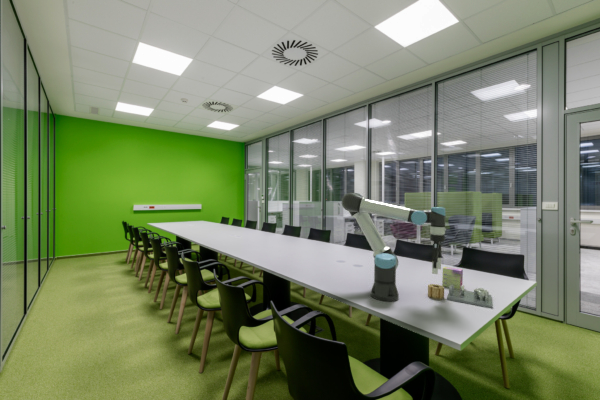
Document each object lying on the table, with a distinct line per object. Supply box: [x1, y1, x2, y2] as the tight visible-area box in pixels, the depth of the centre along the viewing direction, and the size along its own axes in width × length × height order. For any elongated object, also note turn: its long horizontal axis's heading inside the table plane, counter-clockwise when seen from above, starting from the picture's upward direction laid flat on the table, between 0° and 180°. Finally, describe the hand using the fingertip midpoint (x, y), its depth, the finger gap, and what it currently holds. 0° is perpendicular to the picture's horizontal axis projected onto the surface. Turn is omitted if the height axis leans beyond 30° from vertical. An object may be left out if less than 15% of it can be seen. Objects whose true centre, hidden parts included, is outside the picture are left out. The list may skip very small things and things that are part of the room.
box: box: [441, 266, 464, 290], centre depth 175 cm, size 10×6×12 cm, turn 47°
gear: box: [427, 283, 445, 300], centre depth 156 cm, size 8×8×6 cm
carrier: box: [446, 284, 493, 309], centre depth 155 cm, size 21×21×6 cm
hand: (436, 271), depth 156 cm, fingers open, 13 cm apart
